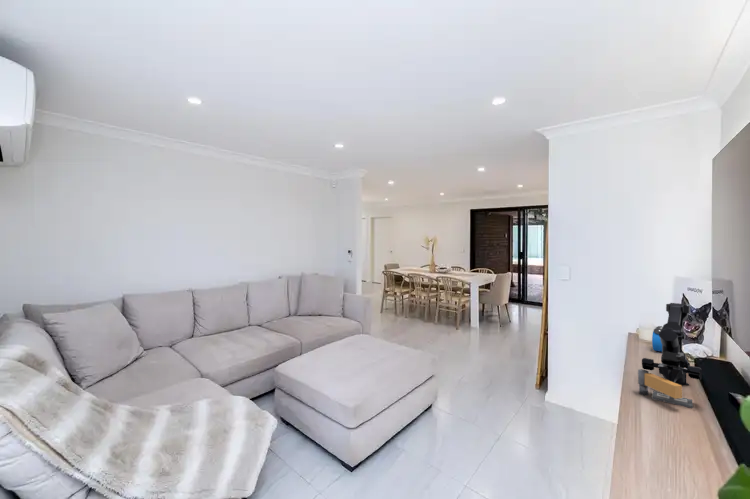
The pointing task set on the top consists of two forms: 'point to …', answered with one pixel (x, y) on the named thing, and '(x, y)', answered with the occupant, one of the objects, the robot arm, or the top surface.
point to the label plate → (672, 399)
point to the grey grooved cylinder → (643, 390)
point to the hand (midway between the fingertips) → (670, 387)
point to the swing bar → (659, 384)
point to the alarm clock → (657, 339)
